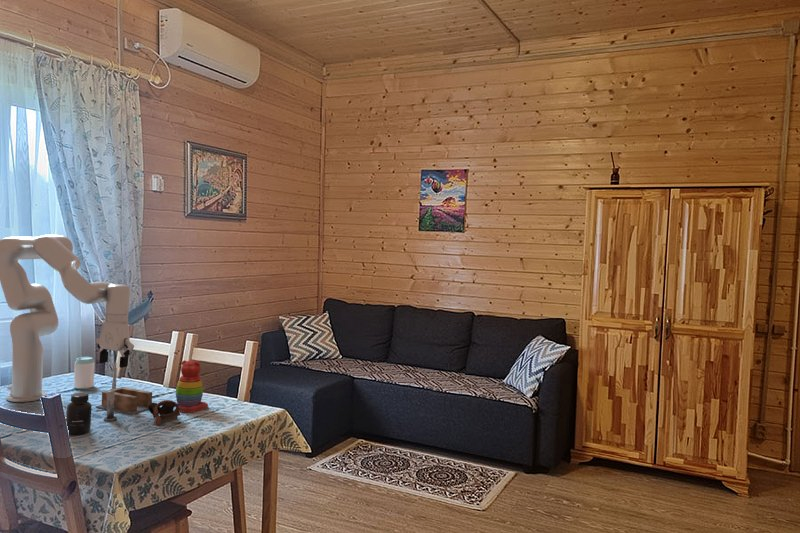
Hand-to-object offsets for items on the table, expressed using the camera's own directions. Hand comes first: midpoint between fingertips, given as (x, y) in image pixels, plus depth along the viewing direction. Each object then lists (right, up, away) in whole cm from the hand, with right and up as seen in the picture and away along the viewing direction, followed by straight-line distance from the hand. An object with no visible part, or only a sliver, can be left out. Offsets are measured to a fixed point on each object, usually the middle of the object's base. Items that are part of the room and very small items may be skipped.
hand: (113, 364), depth 214 cm
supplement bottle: (+4, -16, -31) cm, 35 cm away
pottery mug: (+25, -17, -16) cm, 34 cm away
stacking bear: (+28, -16, 0) cm, 32 cm away
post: (+7, -16, -17) cm, 24 cm away
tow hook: (-5, -14, +16) cm, 22 cm away
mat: (+6, -15, -2) cm, 16 cm away
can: (-22, -13, +22) cm, 34 cm away
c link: (+6, -15, -2) cm, 16 cm away
